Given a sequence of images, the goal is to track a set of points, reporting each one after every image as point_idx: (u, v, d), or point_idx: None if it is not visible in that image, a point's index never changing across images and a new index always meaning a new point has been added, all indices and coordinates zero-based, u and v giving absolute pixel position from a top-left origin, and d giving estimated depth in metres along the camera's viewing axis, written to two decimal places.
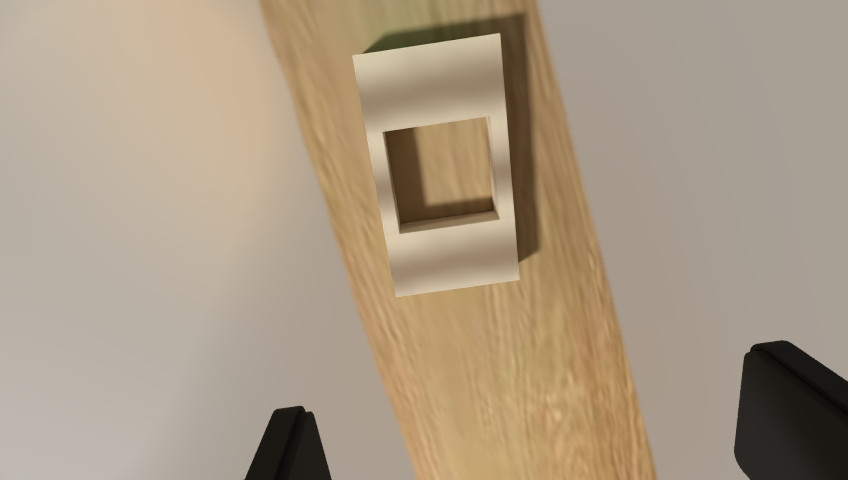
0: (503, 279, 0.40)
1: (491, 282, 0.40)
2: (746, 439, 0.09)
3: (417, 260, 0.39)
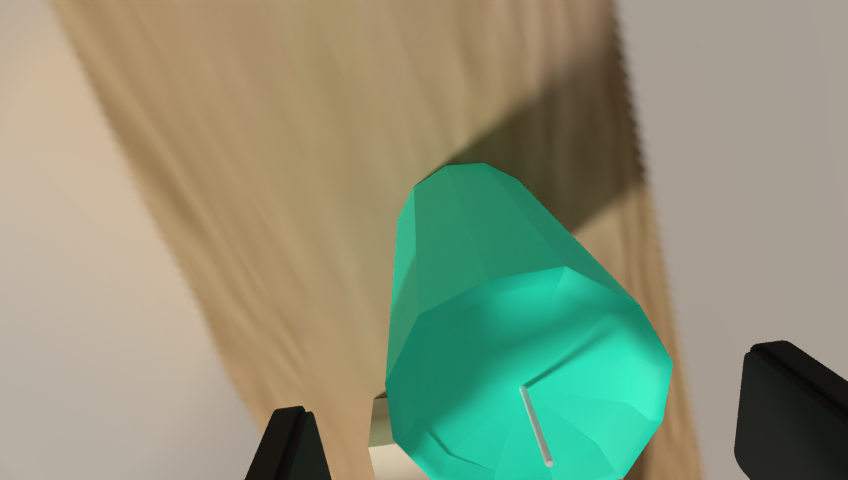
0: None
1: None
2: (746, 439, 0.09)
3: None
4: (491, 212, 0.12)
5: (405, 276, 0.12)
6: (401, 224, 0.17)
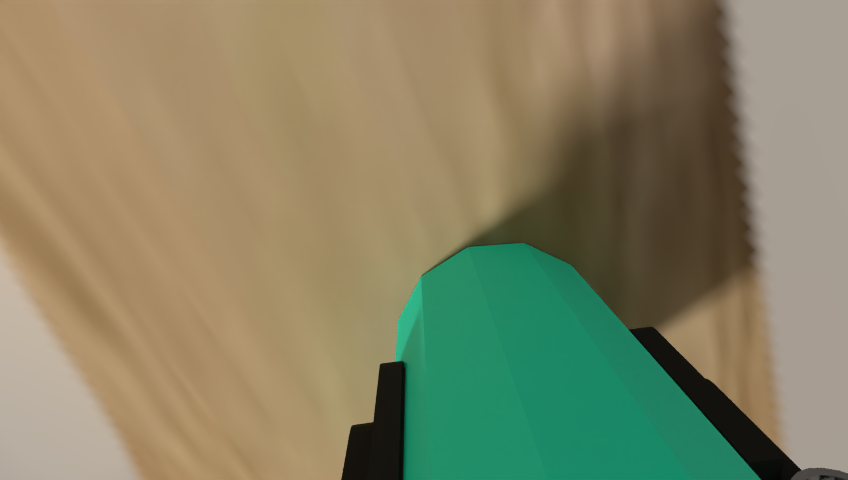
0: None
1: None
2: None
3: None
4: (573, 401, 0.06)
5: None
6: (403, 342, 0.11)
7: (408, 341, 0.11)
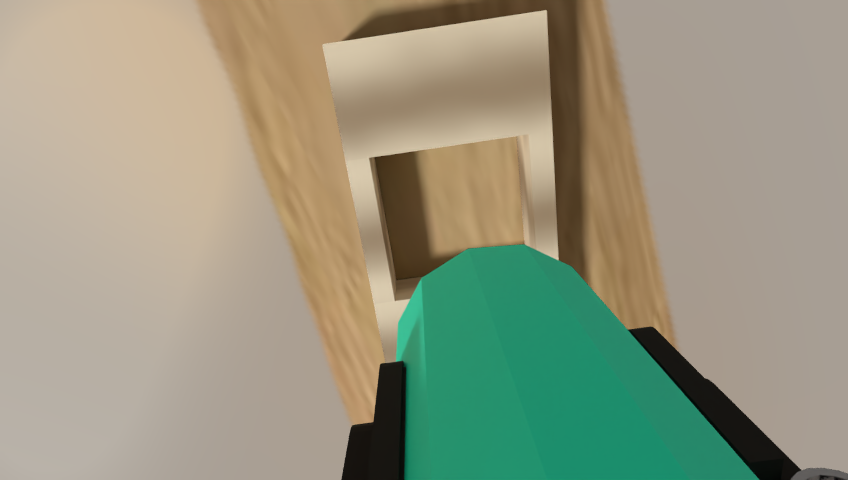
0: None
1: None
2: None
3: None
4: (575, 404, 0.06)
5: None
6: (403, 344, 0.11)
7: (408, 343, 0.11)
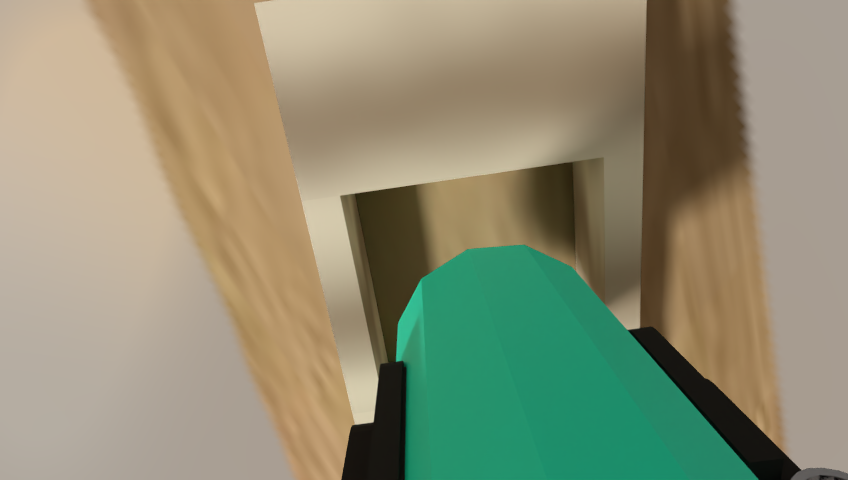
0: None
1: None
2: None
3: None
4: (575, 405, 0.06)
5: None
6: (403, 344, 0.11)
7: (408, 344, 0.11)
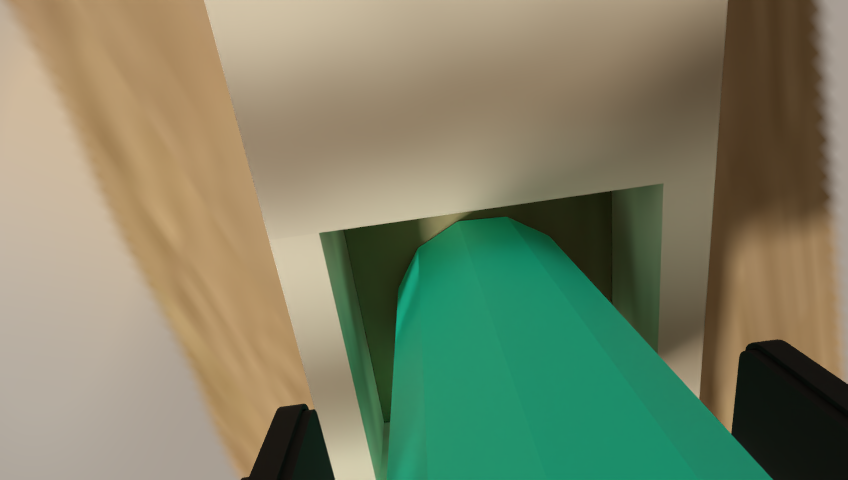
0: None
1: None
2: (741, 437, 0.10)
3: None
4: (532, 319, 0.08)
5: (408, 418, 0.08)
6: (402, 301, 0.13)
7: (407, 299, 0.13)
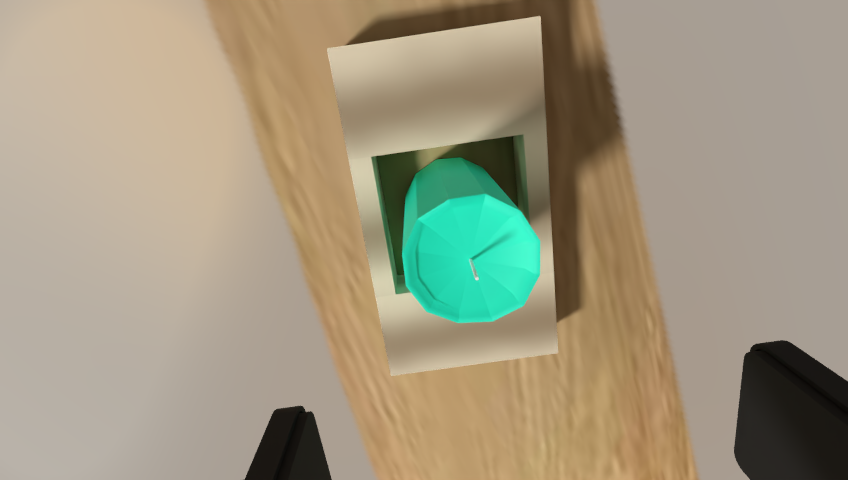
0: (536, 352, 0.29)
1: (520, 356, 0.29)
2: (746, 439, 0.09)
3: (419, 328, 0.28)
4: (457, 178, 0.22)
5: (411, 213, 0.22)
6: (408, 196, 0.27)
7: (410, 193, 0.26)
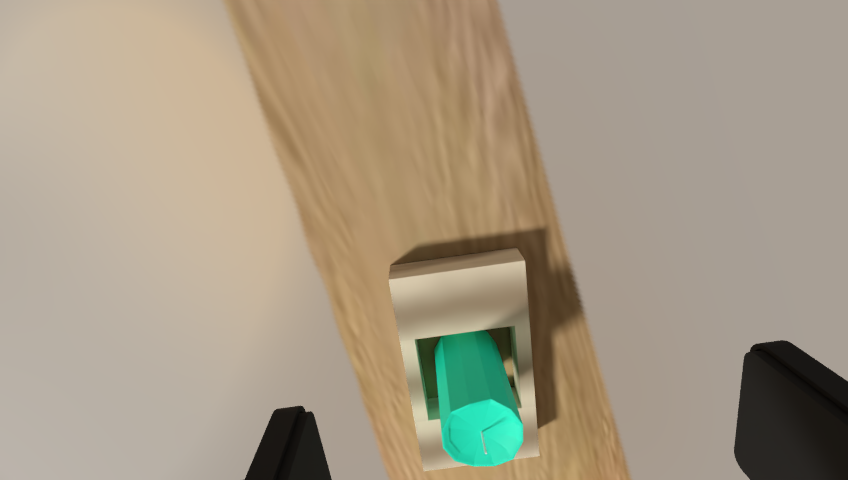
0: (524, 455, 0.42)
1: None
2: (746, 439, 0.09)
3: None
4: (472, 368, 0.35)
5: (443, 391, 0.35)
6: (437, 356, 0.40)
7: (439, 356, 0.39)
